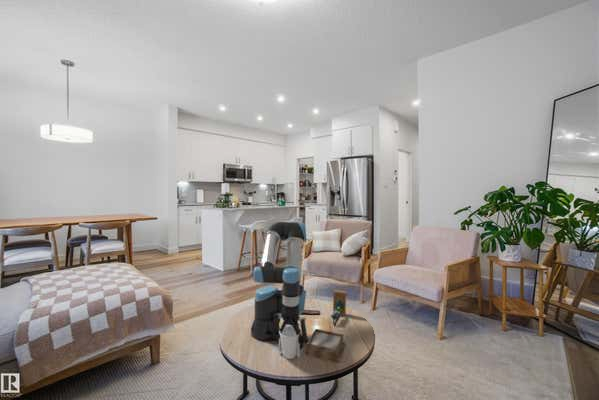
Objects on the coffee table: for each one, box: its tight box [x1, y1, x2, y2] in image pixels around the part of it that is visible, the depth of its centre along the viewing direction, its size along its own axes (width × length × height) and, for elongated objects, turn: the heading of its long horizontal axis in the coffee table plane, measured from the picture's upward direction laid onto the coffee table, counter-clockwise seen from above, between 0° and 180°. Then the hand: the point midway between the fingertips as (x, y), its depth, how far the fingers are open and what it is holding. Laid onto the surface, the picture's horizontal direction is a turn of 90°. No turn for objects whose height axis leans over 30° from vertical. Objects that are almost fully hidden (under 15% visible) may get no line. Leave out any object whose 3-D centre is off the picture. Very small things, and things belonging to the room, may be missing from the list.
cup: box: [279, 325, 302, 360], centre depth 118 cm, size 10×10×11 cm
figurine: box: [330, 289, 347, 326], centre depth 152 cm, size 14×18×8 cm
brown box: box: [303, 328, 346, 364], centre depth 122 cm, size 16×14×5 cm
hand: (289, 353), depth 118 cm, fingers closed on cup, 8 cm apart
